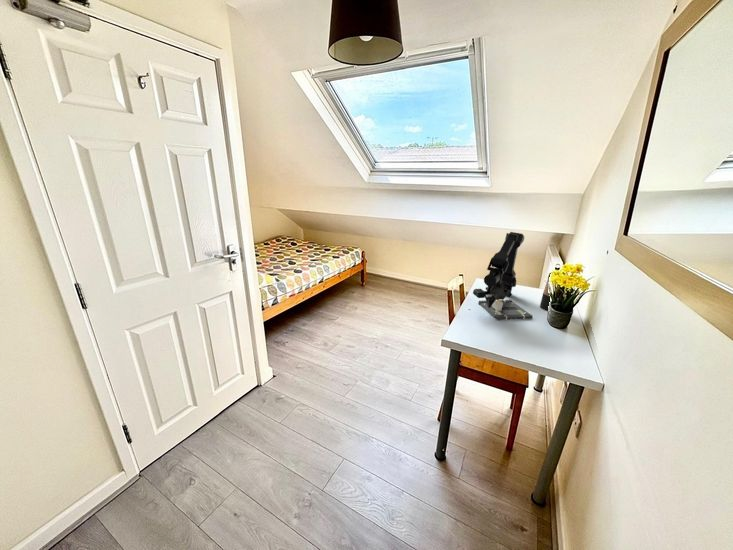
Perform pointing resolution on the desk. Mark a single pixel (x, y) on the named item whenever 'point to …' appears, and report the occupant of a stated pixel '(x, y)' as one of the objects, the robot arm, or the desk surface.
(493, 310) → the breaker panel
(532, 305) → the desk surface
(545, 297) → the travel mug
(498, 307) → the lever
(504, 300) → the cord bundle inner
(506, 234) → the robot arm
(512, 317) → the cord bundle outer
